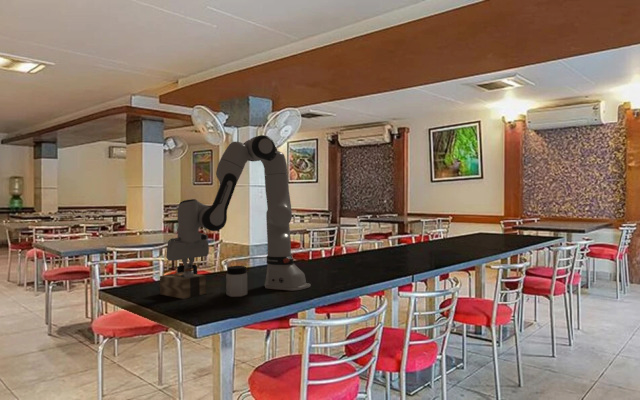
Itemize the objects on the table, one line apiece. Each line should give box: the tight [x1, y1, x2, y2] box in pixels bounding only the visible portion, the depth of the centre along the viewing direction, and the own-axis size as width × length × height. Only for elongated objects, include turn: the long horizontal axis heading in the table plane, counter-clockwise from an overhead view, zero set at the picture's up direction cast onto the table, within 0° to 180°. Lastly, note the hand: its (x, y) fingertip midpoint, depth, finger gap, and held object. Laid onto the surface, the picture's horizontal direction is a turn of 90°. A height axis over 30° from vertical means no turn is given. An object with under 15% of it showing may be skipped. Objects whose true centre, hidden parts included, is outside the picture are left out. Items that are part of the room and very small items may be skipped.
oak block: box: [159, 272, 207, 300], centre depth 204 cm, size 16×12×8 cm
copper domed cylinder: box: [184, 268, 194, 278], centre depth 202 cm, size 4×4×8 cm
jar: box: [225, 265, 248, 298], centre depth 202 cm, size 9×8×12 cm
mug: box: [176, 264, 198, 274], centre depth 224 cm, size 9×12×9 cm
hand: (188, 268), depth 202 cm, fingers closed, pressing on copper domed cylinder
